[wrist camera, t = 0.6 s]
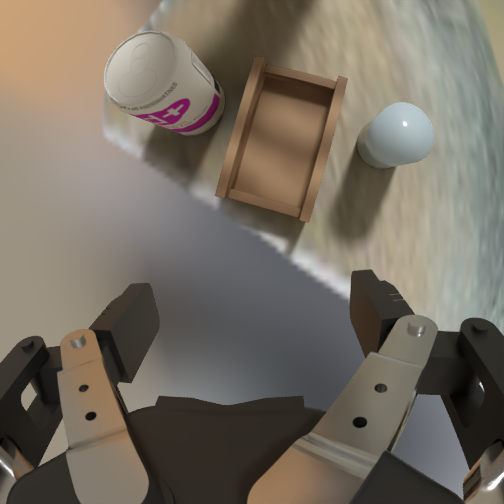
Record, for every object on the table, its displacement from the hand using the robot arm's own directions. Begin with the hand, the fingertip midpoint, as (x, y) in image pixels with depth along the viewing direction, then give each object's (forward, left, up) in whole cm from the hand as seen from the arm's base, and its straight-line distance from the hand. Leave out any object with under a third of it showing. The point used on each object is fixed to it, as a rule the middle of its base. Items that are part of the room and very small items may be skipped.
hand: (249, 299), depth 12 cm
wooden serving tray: (-10, -2, -26) cm, 27 cm away
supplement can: (-12, -14, -26) cm, 32 cm away
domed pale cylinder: (-13, +9, -26) cm, 30 cm away
